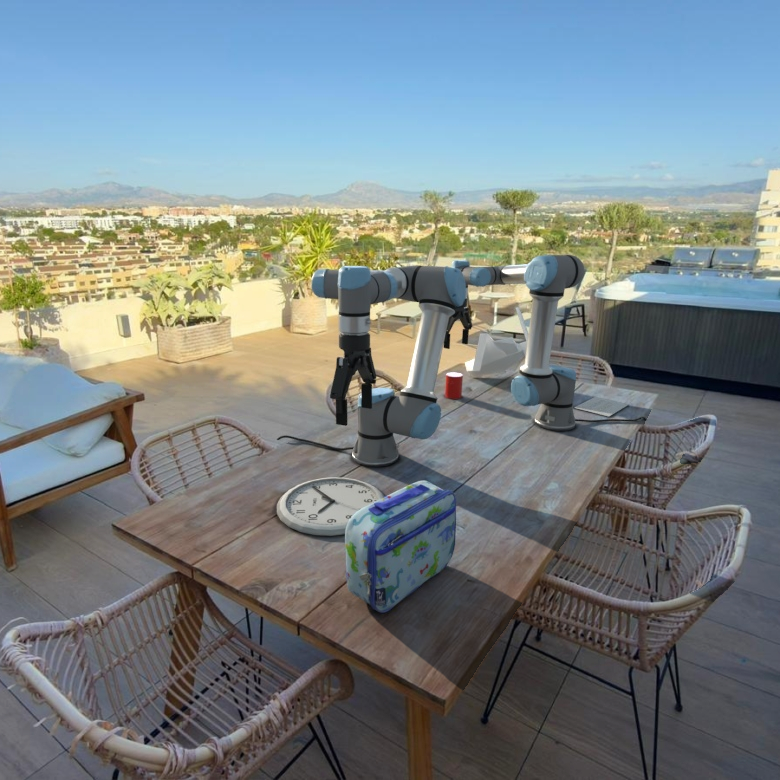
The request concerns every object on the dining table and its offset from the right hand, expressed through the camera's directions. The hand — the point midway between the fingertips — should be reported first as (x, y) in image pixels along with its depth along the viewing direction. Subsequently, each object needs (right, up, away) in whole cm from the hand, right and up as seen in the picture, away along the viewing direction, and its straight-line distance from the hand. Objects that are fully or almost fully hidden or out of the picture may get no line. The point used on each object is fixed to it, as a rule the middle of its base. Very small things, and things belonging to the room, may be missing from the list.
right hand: (455, 346), depth 230 cm
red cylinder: (0, -22, +7) cm, 23 cm away
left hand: (-38, -26, -98) cm, 109 cm away
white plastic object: (+27, -16, +28) cm, 42 cm away
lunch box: (-26, -61, -118) cm, 135 cm away
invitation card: (+63, -27, -4) cm, 68 cm away
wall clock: (-45, -51, -87) cm, 110 cm away
